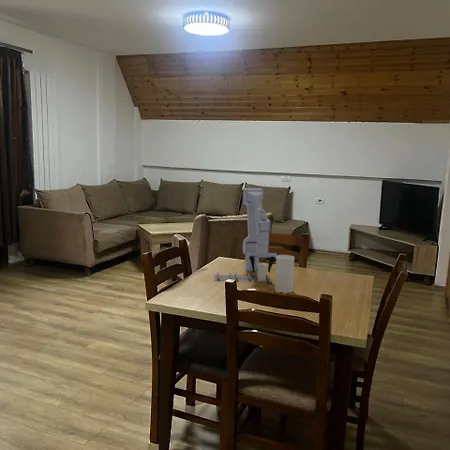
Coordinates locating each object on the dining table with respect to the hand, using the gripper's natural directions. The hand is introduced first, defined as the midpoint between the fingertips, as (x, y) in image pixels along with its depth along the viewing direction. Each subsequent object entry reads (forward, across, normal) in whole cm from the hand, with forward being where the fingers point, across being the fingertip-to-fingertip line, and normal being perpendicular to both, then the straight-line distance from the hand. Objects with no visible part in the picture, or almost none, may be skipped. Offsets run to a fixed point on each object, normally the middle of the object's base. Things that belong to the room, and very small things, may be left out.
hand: (261, 271), depth 225 cm
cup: (+5, +9, -14) cm, 18 cm away
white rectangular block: (+4, 0, 0) cm, 4 cm away
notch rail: (+5, -9, 0) cm, 10 cm away
